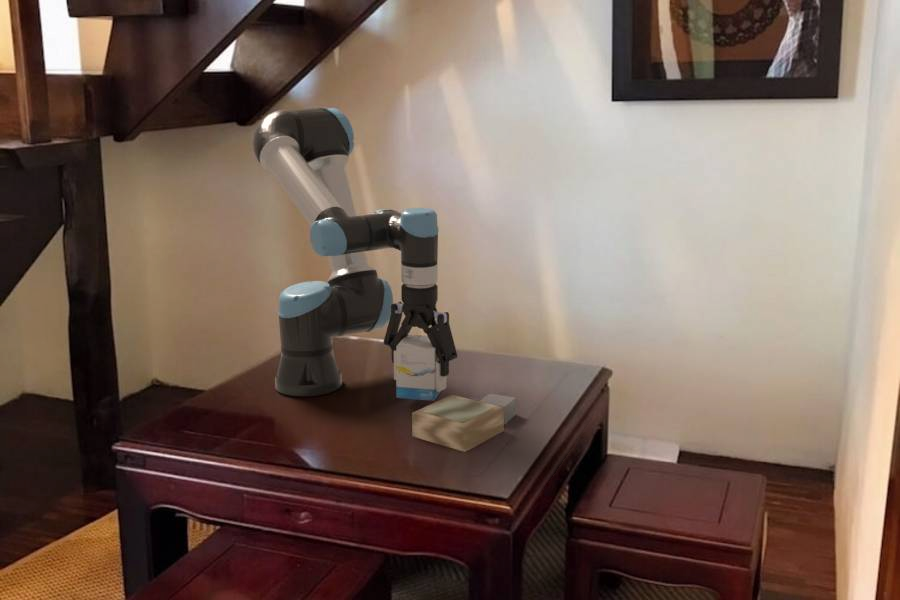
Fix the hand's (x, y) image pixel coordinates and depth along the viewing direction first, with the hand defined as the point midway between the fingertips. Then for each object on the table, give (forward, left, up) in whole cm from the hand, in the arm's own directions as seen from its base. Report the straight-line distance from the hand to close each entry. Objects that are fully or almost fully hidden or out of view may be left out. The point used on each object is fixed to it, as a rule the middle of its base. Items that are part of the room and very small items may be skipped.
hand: (419, 383), depth 212 cm
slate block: (+17, +5, -6) cm, 18 cm away
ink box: (0, 0, -2) cm, 2 cm away
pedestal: (+16, -7, -5) cm, 18 cm away
